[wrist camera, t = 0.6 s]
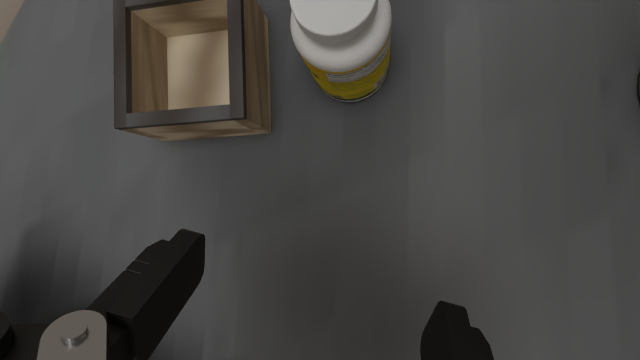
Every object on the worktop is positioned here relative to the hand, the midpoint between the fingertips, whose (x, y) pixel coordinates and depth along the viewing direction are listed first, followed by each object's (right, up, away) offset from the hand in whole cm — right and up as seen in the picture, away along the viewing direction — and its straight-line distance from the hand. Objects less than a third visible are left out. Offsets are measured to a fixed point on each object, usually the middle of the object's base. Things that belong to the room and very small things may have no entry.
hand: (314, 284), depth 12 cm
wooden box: (-9, +12, +19) cm, 24 cm away
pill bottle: (+3, +13, +17) cm, 22 cm away
